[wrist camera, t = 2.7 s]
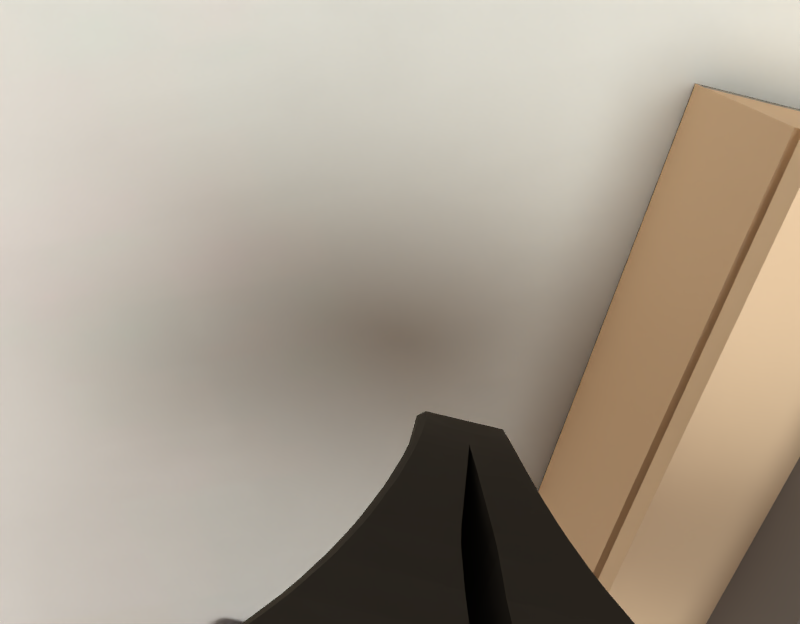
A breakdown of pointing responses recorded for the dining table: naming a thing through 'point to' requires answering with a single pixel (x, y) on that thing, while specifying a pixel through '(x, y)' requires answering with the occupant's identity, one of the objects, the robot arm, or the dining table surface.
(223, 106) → the dining table surface
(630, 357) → the box
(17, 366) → the dining table surface
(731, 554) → the lid
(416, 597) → the robot arm
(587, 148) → the dining table surface
